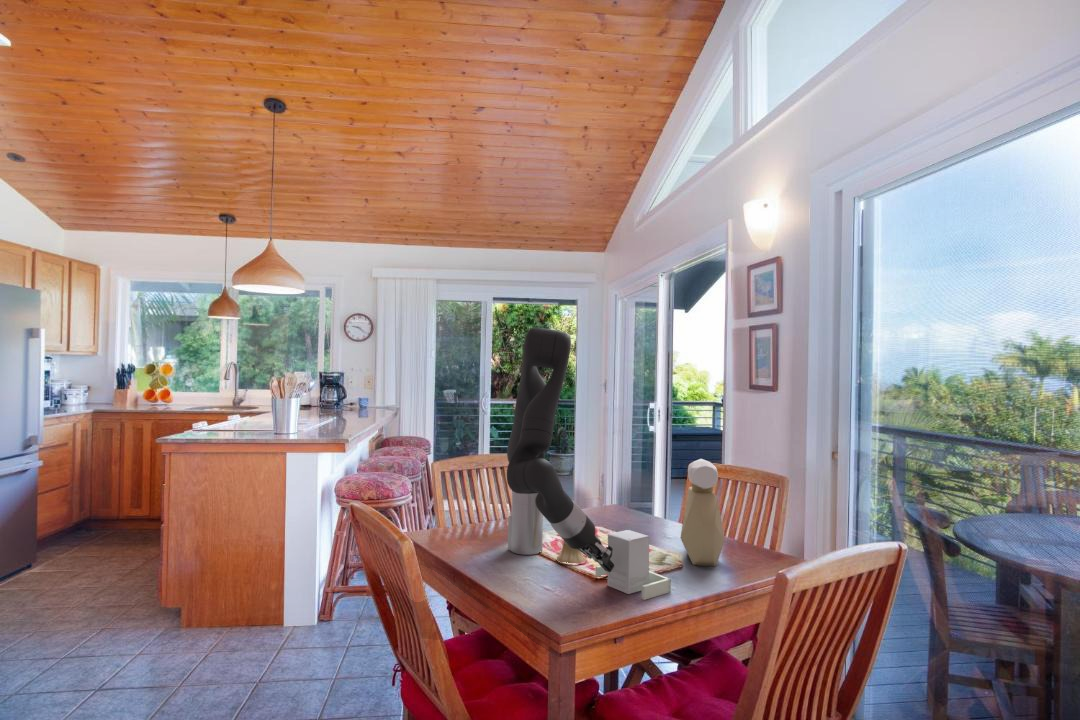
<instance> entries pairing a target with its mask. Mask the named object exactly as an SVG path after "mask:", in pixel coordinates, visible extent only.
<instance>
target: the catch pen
mask: <svg viewBox="0 0 1080 720" xmlns="http://www.w3.org/2000/svg"><path fill="white" fill-rule="evenodd" d="M606 574H608V572H607V571H605V570H604V569H603V568H602V567H601V565H600V564H599V565H596V566H595V577H596V576H597V577H599V576H601V575H606ZM671 586H672V579H671V578H670V577H669V578H668V577H666V576H664V575H661V574H659V573H656V572H653V571H651V570H649V584H646V585H643V586H642V591H641V600H643V601H645V600H649V599H652V598H655V597H658V596H662V595H666V594H668V593H671V592H672V587H671Z"/></svg>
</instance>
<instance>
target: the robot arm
mask: <svg viewBox="0 0 1080 720" xmlns="http://www.w3.org/2000/svg"><path fill="white" fill-rule="evenodd" d="M571 341H572V338H571V336H570V334H569V333H568V332H566V331H562V330H556V329H549V328H543V327H531V328H529V330H528V331H527V332H526V335H525V338H524V343H523V347H522V348H523V349H522V358H521V359H522V360H521V361H522V363H521V374H520V381H519V384H518V385H519V386H518V391H517V394H516V400H515V407H514V416H513V425H512V429H511V432H510V436H509V439H508V443H507V449H506V450H507V451H506V453H507V454H506V457H507V461H508V465H507V469H506V482H507V485H508V487H509V489H510V490H511V510H510V511H511V513H510V514H511V515H509V516H508V518H507V519H508V521H507V523H508V524H507V551H508V550H509V551H511V553H514V554H518V555H523V556H524V555H525V556H526V555H528V556H532V555H538V554H540V553H541V552H540V551H541V550H542V551H543V540H544V539H543V536H544V534H543V533H544V529H543V528H544V518H545V520H546V521H548V522H549V524H550V526H551V527H552V529H553V530H554V531H555V533H557V534H558V535H559V537H560V538H561V539H562V540H563V542H564V541H565V542H566V543H567V545H568V546H569V547H571V548H573V549H578V550H579V551H581V553H582V555H583V554H584V555H585V556H586V557H587V558H588V559H590V560H593V561H594V562H596V563H598V564H599V566H600V565H601V567H602V568H603V569H604V570H605V571H607V572H611V571H612V569H613V567H614V564H613V563H612V561H611V560H610V558H611V557H612V552H613V549H612V547H610V546H608V545H607V546H606V547H605V546H604V545H603V543H602V542H601V540H600V538H599V537H598V536H597V535H596V526H595V524H594V523H593V521H592V520H591V519H590V518H589V516H588V515H587V514H586V512H585V511H584V510H583V509H582V508H581V507H580V506H579V505H578V504H577V502H576V501H574V500H573V499H572V498H571V497H570V495H569V494H568V493H567V492H566V490H564V487H563V486H562V483H561V480H560V478H559V476H558V474H557V471H556V469H555V467H554V465H553V464H552V463H551V462H550V461H548V460H547V459H546V452H547V451H548V450H549V449H550V448H551V446H552V442H553V440H552V439H553V434H554V427H555V426H554V425H555V419H556V412H557V409H558V403H559V401H560V396H561V394H562V391H563V387H564V386H563V385H564V382H565V378H566V374H567V373H566V372H567V369H568V364H569V359H570V355H571V348H572V347H571V346H572V342H571ZM539 367H540V368H545V369H546V368H547V369H549V370H551V369H552V370H553V371H552V373H551V375H550V378H549V379H548V381H547V382H546V381H545V380H544V379H543V377H542V375H541V374H540V373H539V370H538V368H539ZM539 552H540V553H539Z"/></svg>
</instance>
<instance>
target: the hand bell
mask: <svg viewBox="0 0 1080 720" xmlns="http://www.w3.org/2000/svg"><path fill="white" fill-rule="evenodd" d="M556 558H557V560H558V561H560V562H566V563H567V562H568V563H581V562H584V561H585V560H586V561H587V559H586V558H585V556H584V555H583V553H582V552H581V551H579V550H578V549H573V548H571V547H569V546H568V545H567V543H566V542H565V541H564V540H563V544H562V549H561V552H560V554H559V555H558V556H557V557H556Z"/></svg>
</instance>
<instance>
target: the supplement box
mask: <svg viewBox="0 0 1080 720" xmlns="http://www.w3.org/2000/svg"><path fill="white" fill-rule="evenodd" d="M608 546H610V547H612V549H613V552H612V557H611V558H610V560H611V561H612V563H613V564H614V567H613V569H612V571H611V572H608V577H607V579H606V580H607V587H610V588H612V589H614V590H618V591H620V592H622V593H624V594H627V595H631V594H634V593H638V592H642V586H643V585H646V584H649V571H650V536H649V535H647V534H643V533H641V532H637V531H633V530H630V529H625V530H620V531H615V532H612V533H608V534H607V547H608Z"/></svg>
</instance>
